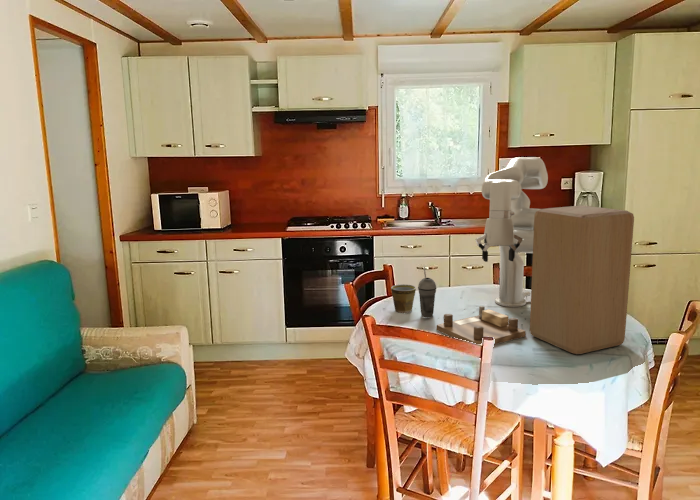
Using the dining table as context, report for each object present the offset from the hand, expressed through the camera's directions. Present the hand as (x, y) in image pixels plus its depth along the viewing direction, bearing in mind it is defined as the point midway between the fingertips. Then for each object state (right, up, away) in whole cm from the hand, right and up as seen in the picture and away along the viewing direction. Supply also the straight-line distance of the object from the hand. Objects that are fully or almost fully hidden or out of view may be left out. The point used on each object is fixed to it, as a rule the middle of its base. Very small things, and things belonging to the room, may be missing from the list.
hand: (498, 260), depth 201 cm
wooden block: (+22, -27, -15) cm, 38 cm away
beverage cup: (-24, -22, +15) cm, 36 cm away
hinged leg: (-2, -22, -2) cm, 23 cm away
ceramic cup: (-34, -21, +23) cm, 46 cm away
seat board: (-8, -26, -6) cm, 28 cm away
